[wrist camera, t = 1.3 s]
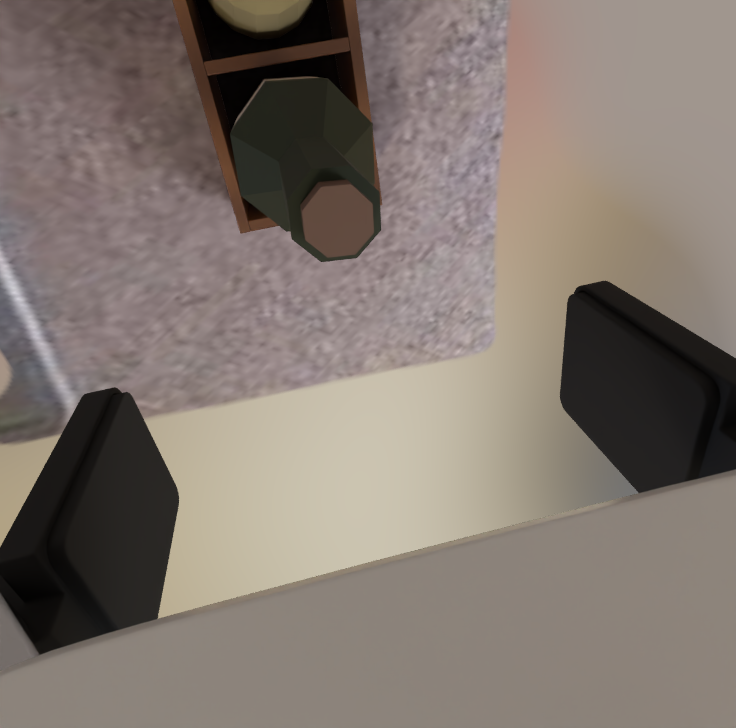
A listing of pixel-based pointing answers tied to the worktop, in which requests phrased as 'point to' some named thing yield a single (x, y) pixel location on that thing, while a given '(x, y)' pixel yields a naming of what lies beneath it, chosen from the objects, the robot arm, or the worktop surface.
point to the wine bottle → (309, 164)
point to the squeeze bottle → (261, 16)
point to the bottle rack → (206, 69)
